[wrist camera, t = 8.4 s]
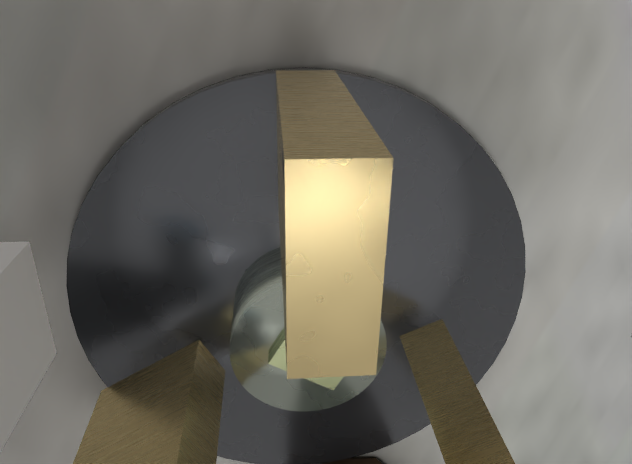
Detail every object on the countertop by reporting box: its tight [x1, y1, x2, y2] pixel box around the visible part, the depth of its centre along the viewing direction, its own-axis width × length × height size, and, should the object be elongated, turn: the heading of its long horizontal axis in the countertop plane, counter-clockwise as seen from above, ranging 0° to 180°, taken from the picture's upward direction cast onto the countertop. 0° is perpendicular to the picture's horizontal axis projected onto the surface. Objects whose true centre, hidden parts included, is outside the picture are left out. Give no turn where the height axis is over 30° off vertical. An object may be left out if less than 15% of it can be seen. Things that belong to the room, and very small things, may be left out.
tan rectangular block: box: [400, 319, 515, 464], centre depth 22 cm, size 6×2×10 cm, turn 23°
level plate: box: [67, 68, 525, 464], centre depth 24 cm, size 21×21×5 cm
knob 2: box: [276, 70, 393, 379], centre depth 17 cm, size 6×2×10 cm, turn 179°
